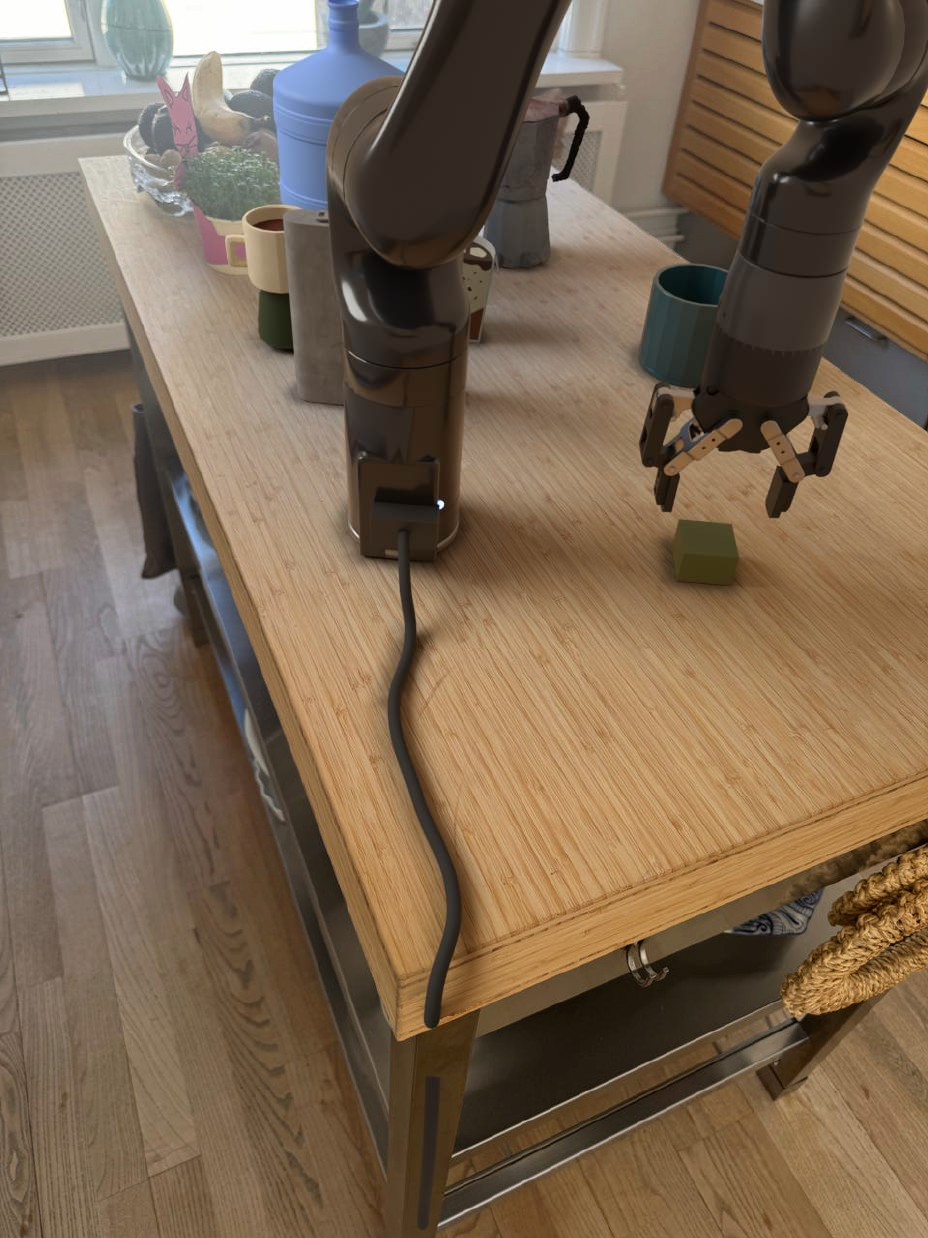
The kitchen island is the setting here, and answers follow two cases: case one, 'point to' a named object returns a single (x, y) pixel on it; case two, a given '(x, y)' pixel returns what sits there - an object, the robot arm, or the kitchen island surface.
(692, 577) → the olive green cube
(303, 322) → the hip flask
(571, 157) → the moka pot
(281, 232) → the character mug
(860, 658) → the kitchen island surface
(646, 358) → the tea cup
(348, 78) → the water jug
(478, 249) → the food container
